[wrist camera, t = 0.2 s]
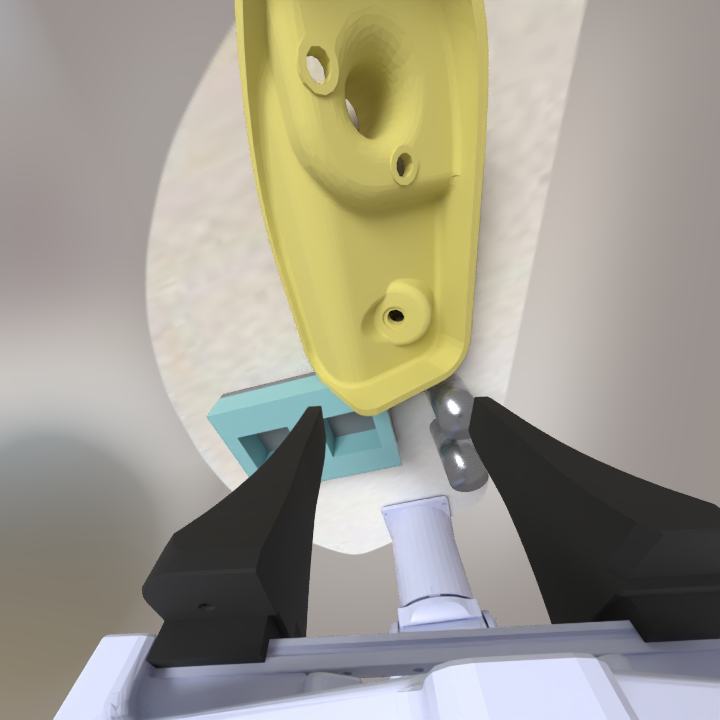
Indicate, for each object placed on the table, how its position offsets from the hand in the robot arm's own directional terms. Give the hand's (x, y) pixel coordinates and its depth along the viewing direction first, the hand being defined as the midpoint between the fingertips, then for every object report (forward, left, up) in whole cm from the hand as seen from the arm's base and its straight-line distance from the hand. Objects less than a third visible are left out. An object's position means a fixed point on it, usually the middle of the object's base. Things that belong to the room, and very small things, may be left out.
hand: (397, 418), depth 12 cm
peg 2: (-11, -4, -10) cm, 15 cm away
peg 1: (-5, -4, -10) cm, 12 cm away
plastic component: (+7, -1, -10) cm, 12 cm away
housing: (-7, +8, -10) cm, 14 cm away
